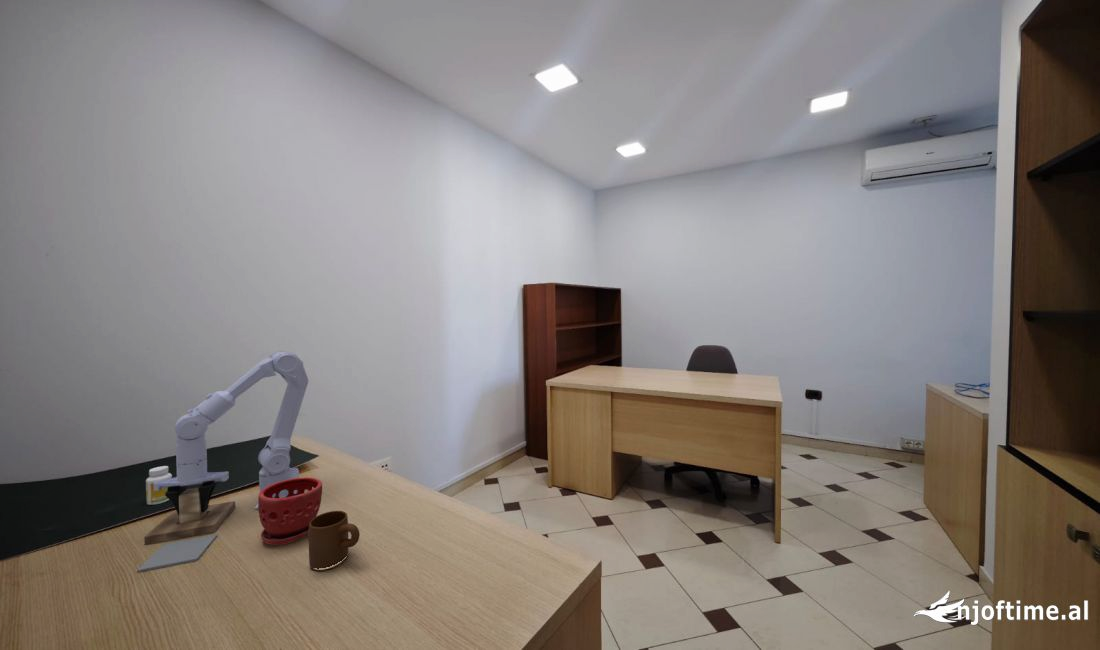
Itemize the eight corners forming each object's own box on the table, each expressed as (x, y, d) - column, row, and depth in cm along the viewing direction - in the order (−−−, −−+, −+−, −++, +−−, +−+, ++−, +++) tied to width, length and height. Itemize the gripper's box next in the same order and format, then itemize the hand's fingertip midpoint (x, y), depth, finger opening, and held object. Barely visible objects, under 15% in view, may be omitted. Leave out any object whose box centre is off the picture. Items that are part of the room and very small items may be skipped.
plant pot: (285, 554, 86) (284, 502, 85) (245, 543, 90) (244, 494, 89) (334, 524, 98) (333, 479, 98) (298, 516, 102) (297, 472, 102)
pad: (217, 536, 93) (217, 534, 93) (197, 560, 84) (197, 558, 84) (164, 546, 89) (164, 544, 89) (137, 572, 80) (137, 570, 80)
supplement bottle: (177, 496, 114) (176, 465, 114) (157, 505, 109) (156, 472, 108) (162, 496, 114) (161, 464, 114) (141, 504, 109) (140, 471, 109)
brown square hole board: (235, 508, 107) (235, 501, 107) (214, 532, 95) (214, 524, 95) (174, 517, 102) (174, 510, 102) (144, 545, 90) (144, 536, 90)
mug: (372, 557, 84) (371, 515, 84) (344, 579, 77) (343, 534, 77) (330, 547, 88) (329, 507, 88) (300, 568, 81) (299, 525, 81)
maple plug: (207, 519, 101) (206, 486, 101) (199, 527, 97) (198, 492, 97) (187, 522, 99) (186, 489, 99) (179, 530, 96) (178, 495, 95)
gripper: (232, 451, 104) (234, 499, 105) (164, 459, 99) (165, 510, 99) (221, 460, 98) (223, 511, 98) (147, 469, 92) (149, 524, 93)
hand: (193, 512), depth 98 cm, fingers closed on maple plug, 4 cm apart
